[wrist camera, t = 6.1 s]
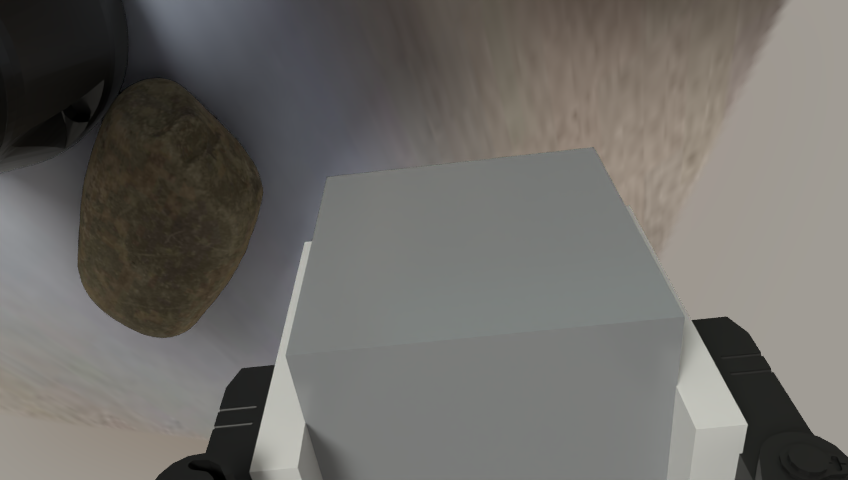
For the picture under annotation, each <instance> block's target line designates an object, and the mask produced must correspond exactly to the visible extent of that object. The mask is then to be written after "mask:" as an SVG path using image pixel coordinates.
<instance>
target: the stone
mask: <svg viewBox="0 0 848 480" xmlns="http://www.w3.org/2000/svg"><path fill="white" fill-rule="evenodd" d="M262 196H263V187H262V183H261V179H260V176H259V173H258V171H257V169H256V167H255V165H254V163H253V161H252V160H251V159H250V157H249V156H248V154H247V153H246V151H245V150H244V148H243V147H242V146H241V145H240V143H239V142H238V141H237V139H236V138H235V137H234V136H233V135H232V134H231V133H230V132H229V131H228V130H227V129H226V128H225V127H224V126H223V125H222V124H221V123H220V122H219V121H218V120H217V119H216V118H215V117H214V116H213V115H212V114H211V113H209V112H208V111H207V110H206V109H205V107H204V106H203V105H202V104H201V103H200V102H199V101H198V100H197V99H196V98H195V97H194V96H193V95H192V94H190V93H189V92H188V91H187V90H186V89H184V88H183V87H182V86H181V85H179V84H178V83H176V82H174V81H171V80H168V79H164V78H151V79H145V80H142V81H139V82H137V83H135V84H133V85H131V86H129V87H128V88H126V89H125V90H124V91H123V92H122V93H121V94H120V95H119V96H118V97H117V98H116V99H115V100H114V101H113V103H112V104H111V106H110V107H109V109H108V111H107V113H106V115H105V117H104V119H103V122H102V124H101V127H100V129H99V132H98V135H97V137H96V140H95V143H94V146H93V149H92V153H91V156H90V160H89V163H88V168H87V172H86V175H85V179H84V185H83V192H82V200H81V211H80V226H79V240H78V270H79V274H80V278H81V282H82V284H83V286H84V288H85V290H86V292H87V293H88V295H89V297H90V298H91V299H92V300H93V301H94V302H95V304H96V305H97V306H98V307H99V308H100V309H102V310H103V311H104V312H105V313H106V314H108V315H109V316H110V317H112V318H113V319H115V320H116V321H118V322H120V323H122V324H123V325H125V326H127V327H129V328H131V329H133V330H135V331H137V332H139V333H142V334H144V335H148V336H152V337H160V338H167V337H173V336H177V335H180V334H181V333H184V332H186V331H187V330H189V329H190V328H191V327H192V326H193V325H194V324H195V323H197V321H198V320H199V319H200V318H201V316H202V315H203V314H204V313H205V311H206V310H207V309H208V308H209V306H210V305H211V304H212V303H213V302H214V301H215V299H216V298H217V297H218V296H219V294H220V293H221V291H222V290H223V289H224V288H225V286H226V285H227V284H228V282H229V281H230V279H231V278H232V276H233V274H234V272H235V271H236V269H237V267H238V265H239V263H240V261H241V259H242V257H243V255H244V254H245V252H246V249H247V246H248V243H249V240H250V237H251V235H252V232H253V229H254V226H255V224H256V221H257V217H258V213H259V209H260V205H261V201H262Z"/></svg>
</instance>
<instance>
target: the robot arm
mask: <svg viewBox="0 0 848 480" xmlns="http://www.w3.org/2000/svg"><path fill="white" fill-rule="evenodd" d="M127 59H128V31H127V23H126V17H125V12H124V8H123V4H122V1H121V0H0V173H3V172H7V171H11V170H14V169H18V168H22V167H26V166H30V165H33V164H37V163H40V162H43V161H45V160H48V159H50V158H52V157H54V156H56V155H58V154H60V153H62V152H64V151H65V150H67V149H69V148H70V147H72V146H73V145H74V144H76V143H77V142H78V141H80V140H81V139H82V138H83V137H84V136H85V135H86V134H87V133H88V132H89V131H90V130H91V129H92V128H93V127H94V126H95V125H96V124H97V123H98V122H99V121H100V120H101V119H102V118H103V116H104V115H105V114H106V113H107V111H108V109H109V107H110V106H111V104H112V103H113V101H114V100H115V99H116V97H117V95H118V93H119V91H120V88H121V85H122V82H123V79H124V75H125V72H126V66H127ZM626 208H627V210H628V212H629V214H630V215H631V217H632V219H633V221H634V223H635V225H636V227H637V229H638V230H639V232H640V234H641V236H642V238H643V240H644V242H645V243H646V245H647V247H648V249H649V251H650V253H651V255H652V256H653V258H654V260H655V262H656V264H657V266H658V268H659V269H660V271H661V273H662V275H663V277H664V279H665V281H666V282H667V284H668V286H669V288H670V290H671V292H672V294H673V295H674V297H675V299H676V301H677V303H678V305H679V307H680V309H681V310H682V312H683V314H684V316H685V319H684V329H683V338H682V347H681V356H680V365H679V374H678V383H677V386H676V393H675V403H674V413H673V423H672V433H671V443H670V453H669V463H668V473H667V480H848V457H847V456H846V455H845V454H844V453H843V452H842V451H841V450H839V449H838V448H837V447H836V446H835V445H833V444H831V443H830V442H828V441H826V440H824V439H822V438H820V437H818V436H815V435H814V434H813V433H812V432H811V431H810V429H809V428H808V426H807V424H806V423H805V421H804V420H803V418H802V416H801V415H800V413H799V412H798V410H797V409H796V407H795V405H794V404H793V402H792V401H791V399H790V398H789V396H788V394H787V393H786V392H785V390H784V388H783V387H782V385H781V383H780V382H779V381H778V379H777V377H776V376H775V374H774V373H772V372H771V368H770V366H769V364H768V363H767V361H766V360H765V358H764V357H763V356H761V352H760V350H759V349H758V347H757V346H756V344H755V343H754V341H753V339H752V338H751V336H750V335H749V333H748V332H747V331H745V330H744V329H743V328H741V327H740V326H738V325H737V324H736V323H734V322H733V321H732V320H730V319H729V318H728V317H718V318H708V319H699V320H691V319H690V317H689V315H688V313H687V311H686V309H685V307H684V306H683V304H682V302H681V300H680V298H679V296H678V295H677V293H676V291H675V289H674V287H673V285H672V283H671V282H670V280H669V278H668V276H667V274H666V272H665V271H664V269H663V267H662V265H661V263H660V261H659V259H658V258H657V256H656V254H655V252H654V250H653V248H652V246H651V245H650V243H649V241H648V239H647V237H646V235H645V233H644V232H643V230H642V228H641V226H640V224H639V222H638V221H637V219H636V217H635V215H634V213H633V211H632V209H631V208H630V206H626ZM311 243H312V241H310V242H305V243H304V247H303V251H302V255H301V259H300V264H299V268H298V272H297V276H296V280H295V284H294V288H293V293H292V297H291V301H290V305H289V309H288V313H287V318H286V322H285V326H284V330H283V334H282V338H281V342H280V347H279V351H278V355H277V359H276V363H275V365H270V366H261V367H251V368H242V369H241V370H240V371H239V373H238V374H237V375H236V376H235V377H234V379H233V380H232V381H231V382H230V384H229V385H228V386H227V387H226V390H225V393H224V396H223V399H222V403H221V406H220V412H219V413H218V415H217V418H216V422H215V425H214V426H215V429H214V430H213V431H212V434H211V437H210V441H209V444H208V447H207V450H206V453H203V454H197V455H192V456H188V457H186V458H183V459H181V460H179V461H177V462H175V463H173V464H172V465H170V466H169V467H168V468H167V469H166V470H164V471H163V472H162V473H161V474H160V475H159V476H158V477H157V478H156V480H323V479H322V475H321V472H320V469H319V465H318V462H317V459H316V456H315V452H314V449H313V446H312V442H311V439H310V436H309V433H308V429H307V426H306V423H305V421H304V417H303V414H302V411H301V407H300V404H299V400H298V397H297V394H296V390H295V387H294V384H293V380H292V377H291V373H290V370H289V367H288V363H287V360H286V356H285V355H286V351H287V347H288V342H289V338H290V334H291V329H292V325H293V321H294V316H295V312H296V308H297V304H298V299H299V295H300V291H301V286H302V282H303V278H304V273H305V269H306V265H307V261H308V256H309V252H310V248H311Z"/></svg>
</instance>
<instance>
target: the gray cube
mask: <svg viewBox="0 0 848 480" xmlns="http://www.w3.org/2000/svg"><path fill="white" fill-rule="evenodd" d="M684 319H685V316H684V314H683V312H682V310H681V309H680V307H679V305H678V303H677V301H676V299H675V297H674V295H673V294H672V292H671V290H670V288H669V286H668V284H667V282H666V281H665V279H664V277H663V275H662V273H661V271H660V269H659V268H658V266H657V264H656V262H655V260H654V258H653V256H652V255H651V253H650V251H649V249H648V247H647V245H646V243H645V242H644V240H643V238H642V236H641V234H640V232H639V230H638V229H637V227H636V225H635V223H634V221H633V219H632V217H631V215H630V214H629V212H628V210H627V208H626V206H625V204H624V202H623V201H622V199H621V197H620V195H619V193H618V191H617V189H616V188H615V186H614V184H613V182H612V180H611V178H610V176H609V175H608V173H607V171H606V169H605V167H604V165H603V163H602V162H601V160H600V158H599V156H598V154H597V152H596V150H595V149H594V147H592V148H583V149H574V150H565V151H556V152H547V153H538V154H529V155H520V156H511V157H502V158H493V159H484V160H475V161H466V162H457V163H448V164H439V165H430V166H421V167H412V168H403V169H394V170H385V171H376V172H367V173H358V174H349V175H340V176H331V177H327V179H326V183H325V187H324V192H323V196H322V200H321V205H320V209H319V213H318V217H317V222H316V226H315V230H314V235H313V239H312V243H311V248H310V252H309V256H308V261H307V265H306V269H305V273H304V278H303V282H302V286H301V291H300V295H299V299H298V304H297V308H296V312H295V316H294V321H293V325H292V329H291V334H290V338H289V342H288V347H287V351H286V355H285V356H286V360H287V363H288V367H289V370H290V373H291V377H292V380H293V384H294V387H295V390H296V394H297V397H298V400H299V404H300V407H301V411H302V414H303V417H304V421H305V423H306V426H307V429H308V433H309V436H310V439H311V442H312V446H313V449H314V452H315V456H316V459H317V462H318V465H319V469H320V472H321V475H322V479H323V480H667V473H668V463H669V453H670V443H671V433H672V423H673V413H674V403H675V393H676V386H677V383H678V374H679V365H680V356H681V347H682V338H683V329H684Z"/></svg>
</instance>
